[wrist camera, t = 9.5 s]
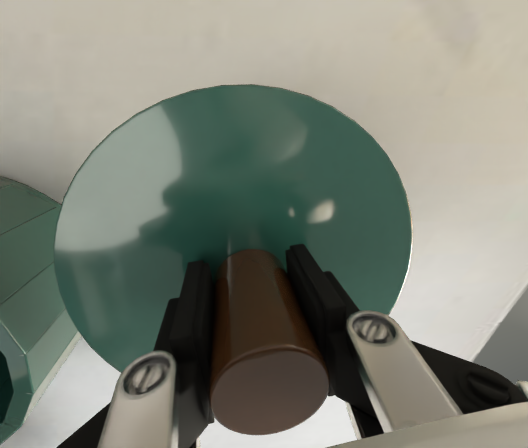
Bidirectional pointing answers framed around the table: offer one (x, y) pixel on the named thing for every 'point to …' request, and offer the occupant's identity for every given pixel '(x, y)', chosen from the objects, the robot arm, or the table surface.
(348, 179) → the lid
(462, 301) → the table surface
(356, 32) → the table surface
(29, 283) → the pot
